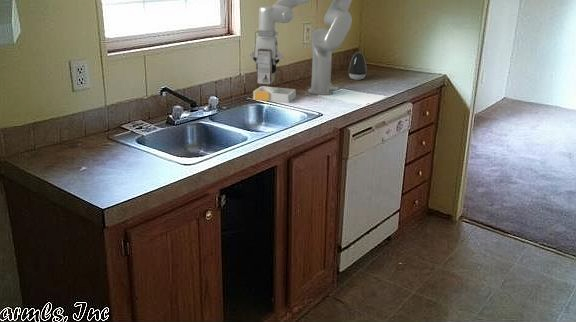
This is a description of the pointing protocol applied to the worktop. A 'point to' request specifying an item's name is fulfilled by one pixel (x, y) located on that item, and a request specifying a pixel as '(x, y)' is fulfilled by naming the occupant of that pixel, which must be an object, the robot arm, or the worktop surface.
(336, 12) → the robot arm
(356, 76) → the black rounded egg shape
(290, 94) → the rack
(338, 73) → the worktop surface
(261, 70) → the coffee box
